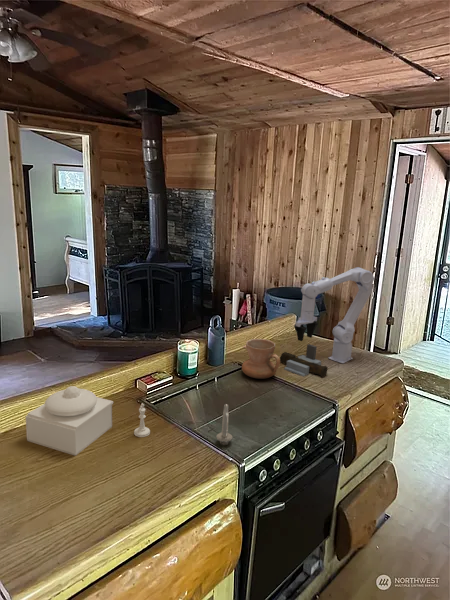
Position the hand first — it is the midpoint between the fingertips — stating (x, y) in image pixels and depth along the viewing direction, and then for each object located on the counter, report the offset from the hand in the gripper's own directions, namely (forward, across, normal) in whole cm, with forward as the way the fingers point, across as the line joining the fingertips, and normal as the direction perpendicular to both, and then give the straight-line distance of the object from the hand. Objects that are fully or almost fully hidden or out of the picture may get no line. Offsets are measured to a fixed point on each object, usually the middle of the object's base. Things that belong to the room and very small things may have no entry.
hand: (304, 338), depth 201 cm
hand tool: (+11, +10, +6) cm, 16 cm away
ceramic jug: (+11, +30, -2) cm, 31 cm away
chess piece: (+11, +92, +2) cm, 93 cm away
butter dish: (+11, +108, -12) cm, 110 cm away
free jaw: (+10, +4, +6) cm, 13 cm away
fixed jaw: (+10, +13, +6) cm, 18 cm away
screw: (+11, +78, +23) cm, 82 cm away
